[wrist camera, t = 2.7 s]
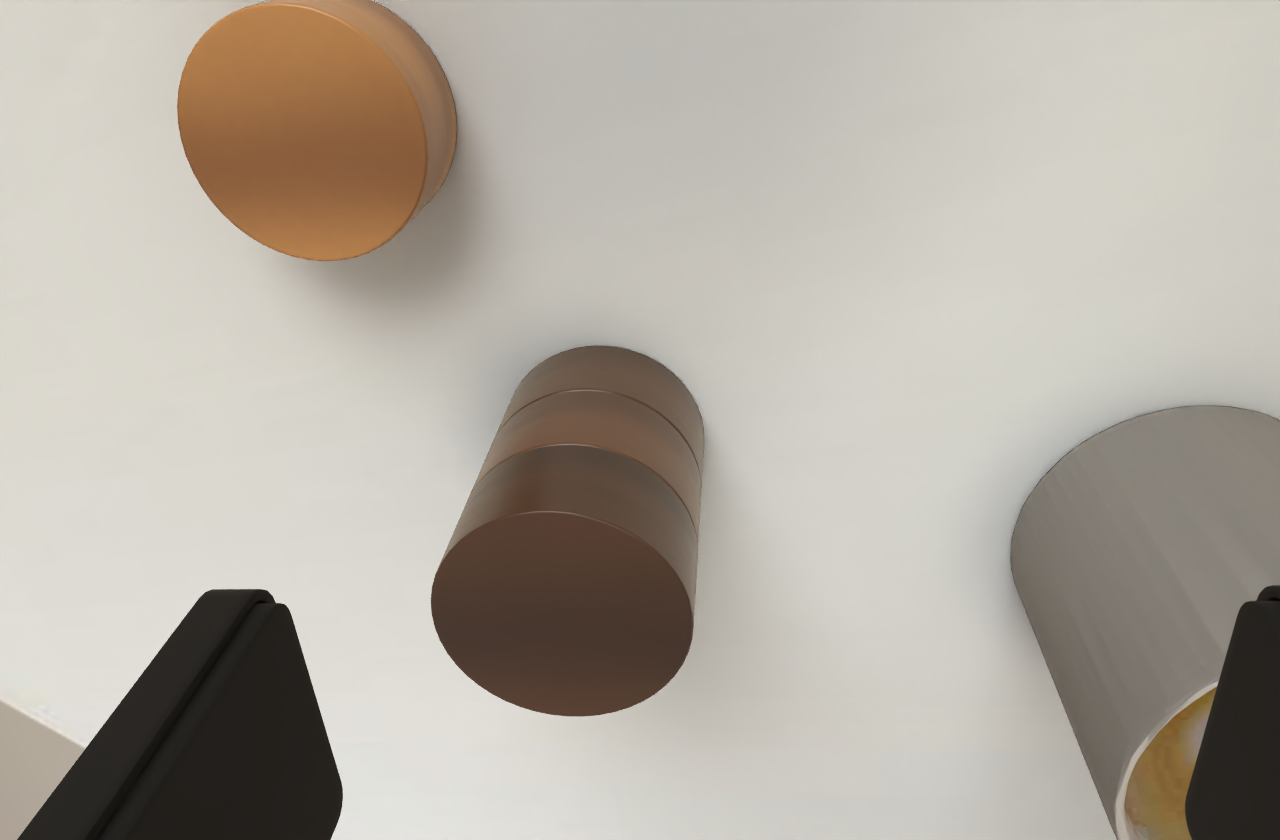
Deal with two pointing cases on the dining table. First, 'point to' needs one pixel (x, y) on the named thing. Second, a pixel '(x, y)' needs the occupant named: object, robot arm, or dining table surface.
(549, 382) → the walnut chip
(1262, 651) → the robot arm
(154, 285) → the dining table surface
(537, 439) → the walnut chip
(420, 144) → the oak chip
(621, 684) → the walnut chip
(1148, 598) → the coffee mug
